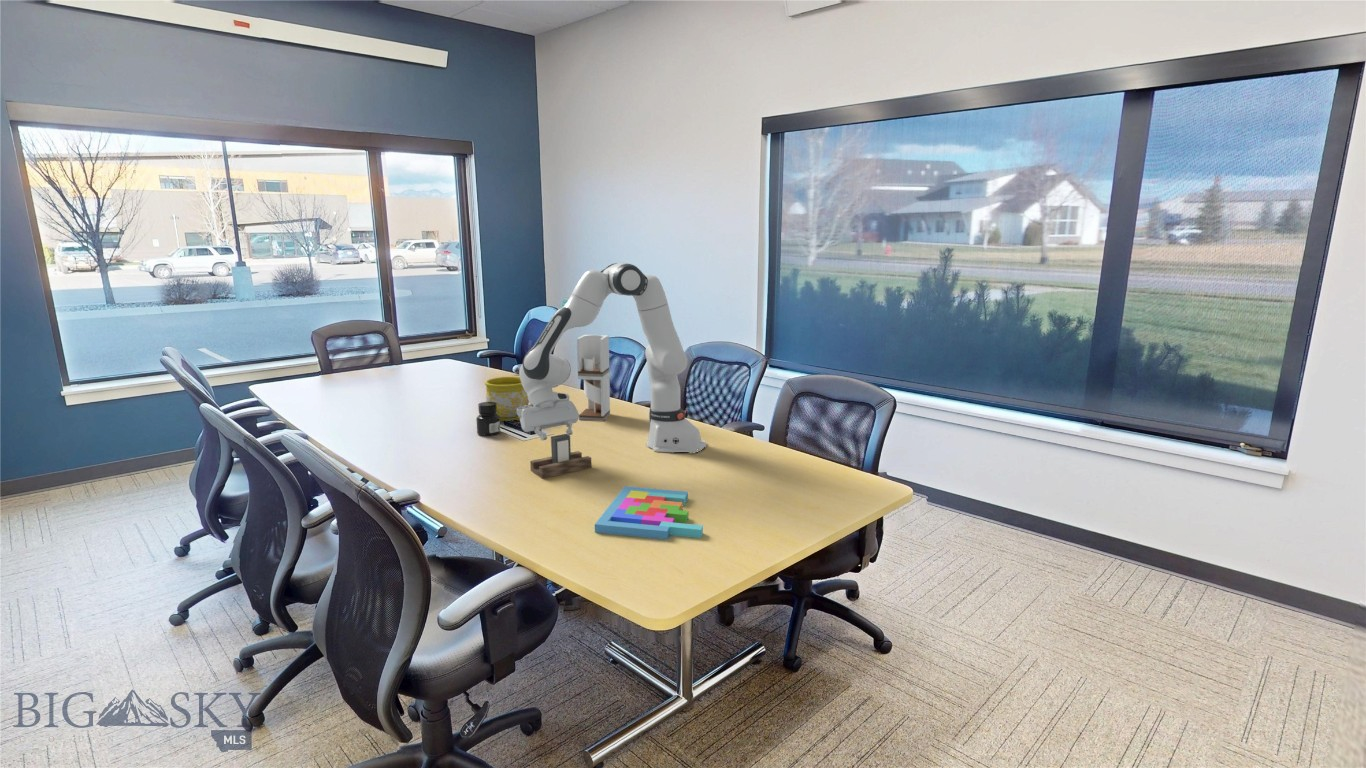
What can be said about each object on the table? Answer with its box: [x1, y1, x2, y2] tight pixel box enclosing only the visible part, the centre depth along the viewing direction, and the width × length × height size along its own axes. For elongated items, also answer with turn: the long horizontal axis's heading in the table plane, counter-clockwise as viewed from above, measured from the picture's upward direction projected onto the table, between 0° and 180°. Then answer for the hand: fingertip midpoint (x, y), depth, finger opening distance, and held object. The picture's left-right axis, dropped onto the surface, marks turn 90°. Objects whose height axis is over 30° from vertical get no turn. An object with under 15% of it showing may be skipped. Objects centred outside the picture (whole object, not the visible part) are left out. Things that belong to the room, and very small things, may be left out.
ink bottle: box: [476, 401, 501, 437], centre depth 260 cm, size 10×9×12 cm
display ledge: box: [529, 450, 593, 480], centre depth 221 cm, size 18×9×4 cm, turn 127°
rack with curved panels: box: [576, 334, 611, 422], centre depth 282 cm, size 11×11×35 cm
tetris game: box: [594, 486, 704, 540], centre depth 185 cm, size 28×3×28 cm
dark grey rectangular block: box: [550, 433, 572, 464], centre depth 220 cm, size 3×6×10 cm, turn 127°
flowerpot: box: [484, 376, 530, 423], centre depth 282 cm, size 18×18×16 cm
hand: (557, 436), depth 221 cm, fingers open, 8 cm apart
